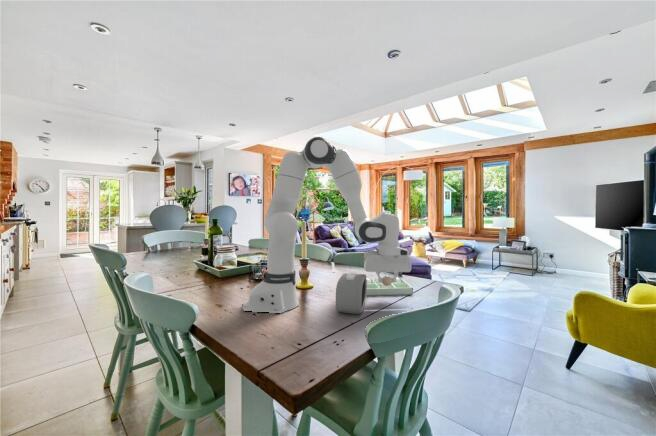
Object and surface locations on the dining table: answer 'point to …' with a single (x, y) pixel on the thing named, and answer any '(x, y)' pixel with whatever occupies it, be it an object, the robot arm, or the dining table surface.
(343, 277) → the alarm clock
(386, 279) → the brown egg
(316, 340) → the dining table surface
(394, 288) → the egg tray
